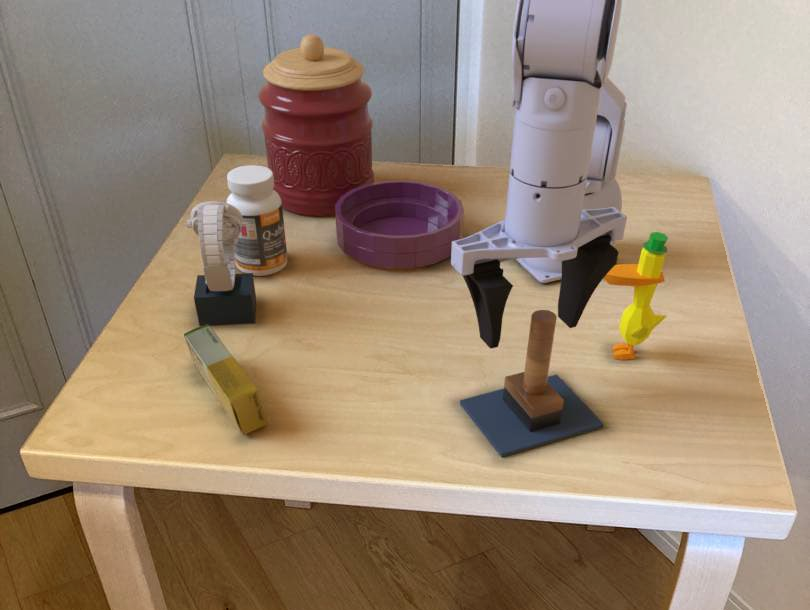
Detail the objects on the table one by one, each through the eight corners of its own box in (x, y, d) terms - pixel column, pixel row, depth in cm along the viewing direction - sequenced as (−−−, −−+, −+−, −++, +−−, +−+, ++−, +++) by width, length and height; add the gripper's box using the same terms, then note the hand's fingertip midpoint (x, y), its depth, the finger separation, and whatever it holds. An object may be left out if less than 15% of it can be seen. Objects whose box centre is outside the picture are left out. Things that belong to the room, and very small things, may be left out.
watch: (257, 290, 88) (242, 187, 80) (254, 332, 83) (238, 226, 75) (203, 293, 88) (183, 189, 80) (197, 335, 82) (175, 228, 74)
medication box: (194, 368, 79) (181, 332, 76) (220, 357, 79) (209, 321, 76) (241, 437, 71) (229, 400, 68) (270, 424, 72) (259, 387, 69)
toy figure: (588, 363, 79) (611, 243, 71) (584, 342, 82) (606, 223, 73) (659, 366, 79) (691, 246, 70) (654, 344, 81) (684, 226, 73)
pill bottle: (279, 280, 90) (268, 188, 82) (228, 275, 90) (213, 183, 83) (294, 255, 94) (285, 165, 86) (245, 250, 94) (232, 160, 87)
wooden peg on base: (531, 391, 75) (544, 297, 69) (560, 423, 72) (576, 327, 65) (502, 399, 75) (512, 304, 68) (529, 432, 72) (543, 336, 65)
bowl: (429, 205, 102) (430, 172, 99) (482, 257, 93) (485, 223, 90) (320, 226, 98) (317, 192, 95) (364, 283, 89) (363, 248, 86)
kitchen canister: (248, 200, 103) (226, 39, 90) (314, 164, 110) (303, 10, 98) (331, 228, 98) (320, 62, 85) (395, 189, 105) (394, 30, 92)
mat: (556, 377, 78) (556, 373, 77) (603, 427, 73) (604, 424, 72) (459, 403, 75) (459, 400, 75) (501, 457, 70) (501, 453, 70)
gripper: (485, 212, 57) (473, 377, 67) (662, 176, 61) (626, 336, 71) (441, 172, 61) (436, 332, 71) (609, 140, 65) (582, 296, 75)
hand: (528, 331), depth 71 cm, fingers open, 7 cm apart
